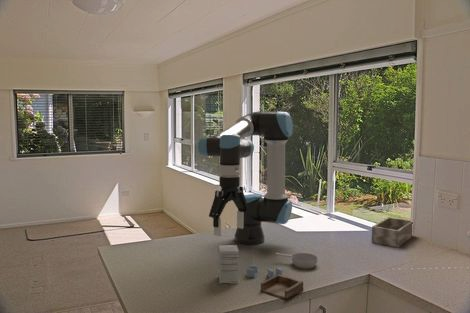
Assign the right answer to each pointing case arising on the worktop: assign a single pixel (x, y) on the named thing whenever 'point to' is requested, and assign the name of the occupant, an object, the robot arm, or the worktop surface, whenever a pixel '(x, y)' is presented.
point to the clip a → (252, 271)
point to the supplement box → (228, 264)
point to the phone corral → (392, 232)
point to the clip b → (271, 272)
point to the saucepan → (302, 260)
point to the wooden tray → (282, 286)
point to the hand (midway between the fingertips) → (229, 231)
